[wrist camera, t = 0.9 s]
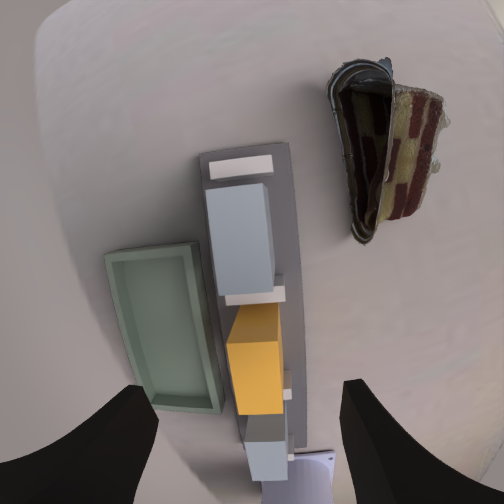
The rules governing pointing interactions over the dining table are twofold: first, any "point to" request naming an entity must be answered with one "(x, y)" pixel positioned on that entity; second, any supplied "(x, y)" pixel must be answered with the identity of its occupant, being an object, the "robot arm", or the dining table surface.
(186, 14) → the dining table surface
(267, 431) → the block
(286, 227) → the block
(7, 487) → the robot arm
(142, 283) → the tray
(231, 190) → the block
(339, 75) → the chocolate cake
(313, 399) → the dining table surface
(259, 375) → the block
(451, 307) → the dining table surface
